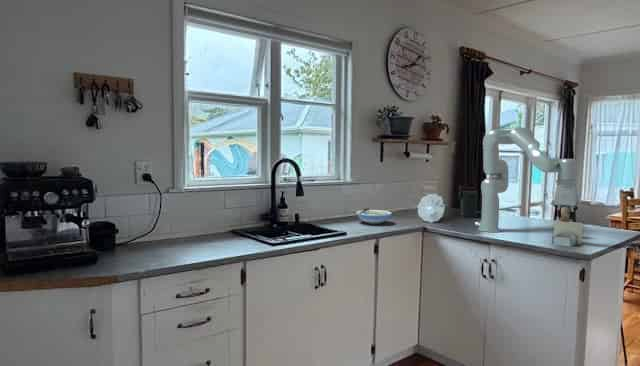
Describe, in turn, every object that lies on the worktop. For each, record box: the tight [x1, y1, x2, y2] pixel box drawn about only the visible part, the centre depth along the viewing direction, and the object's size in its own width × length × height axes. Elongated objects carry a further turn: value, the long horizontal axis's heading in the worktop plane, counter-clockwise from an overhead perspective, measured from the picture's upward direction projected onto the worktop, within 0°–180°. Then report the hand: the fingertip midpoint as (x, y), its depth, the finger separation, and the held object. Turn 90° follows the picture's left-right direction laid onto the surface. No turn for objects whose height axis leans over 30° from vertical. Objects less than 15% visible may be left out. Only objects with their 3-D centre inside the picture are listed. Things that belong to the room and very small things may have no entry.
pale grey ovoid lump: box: [417, 193, 446, 223], centre depth 287 cm, size 18×18×25 cm
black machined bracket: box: [457, 185, 478, 219], centre depth 307 cm, size 12×21×22 cm, turn 169°
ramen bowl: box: [356, 207, 392, 225], centre depth 272 cm, size 25×23×8 cm
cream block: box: [551, 219, 584, 247], centre depth 217 cm, size 13×11×11 cm
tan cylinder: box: [561, 205, 571, 222], centre depth 215 cm, size 4×4×8 cm
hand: (565, 218), depth 216 cm, fingers closed on tan cylinder, 4 cm apart
